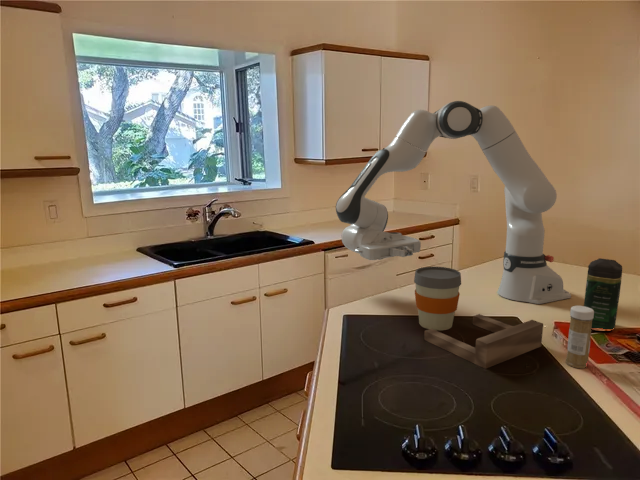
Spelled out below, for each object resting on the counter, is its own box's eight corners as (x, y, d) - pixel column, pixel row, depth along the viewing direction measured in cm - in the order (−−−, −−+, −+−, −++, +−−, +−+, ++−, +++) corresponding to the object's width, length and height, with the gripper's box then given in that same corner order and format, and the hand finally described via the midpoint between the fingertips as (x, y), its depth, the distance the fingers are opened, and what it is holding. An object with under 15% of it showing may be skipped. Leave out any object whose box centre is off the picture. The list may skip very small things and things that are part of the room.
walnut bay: (424, 339, 122) (425, 317, 120) (478, 322, 133) (479, 302, 131) (485, 368, 106) (486, 343, 105) (541, 346, 117) (543, 323, 116)
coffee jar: (614, 336, 122) (622, 266, 119) (579, 329, 127) (586, 262, 123) (616, 324, 130) (624, 258, 126) (583, 318, 135) (590, 255, 131)
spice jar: (591, 365, 107) (598, 309, 104) (581, 371, 104) (587, 313, 102) (572, 358, 111) (577, 303, 108) (561, 363, 108) (566, 307, 105)
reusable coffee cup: (468, 326, 130) (471, 273, 127) (436, 336, 123) (438, 281, 120) (435, 312, 140) (437, 264, 137) (403, 321, 134) (404, 270, 131)
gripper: (351, 239, 143) (381, 247, 132) (402, 231, 154) (433, 238, 142) (351, 259, 144) (380, 269, 133) (401, 250, 155) (432, 259, 144)
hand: (408, 253), depth 138 cm, fingers closed
